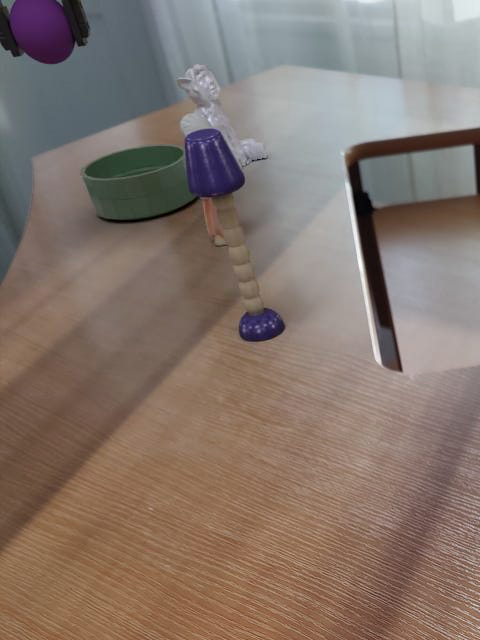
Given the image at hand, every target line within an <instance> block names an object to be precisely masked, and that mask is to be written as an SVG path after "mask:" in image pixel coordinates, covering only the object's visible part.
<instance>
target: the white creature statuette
mask: <svg viewBox="0 0 480 640" xmlns="http://www.w3.org/2000/svg"><path fill="white" fill-rule="evenodd" d="M176 84H177V86H178V87H179V88H180V89H182V90H185V92H186V94H187V96H188V97H189V99H191V101H192V103H194V105H196V108H195V109H194V111H193V113H196V114H199V115H201V116H202V117H204V118H206V119H207V120H208V121H209V123H210V124H211V126H212V127H213V128H214V129H217V130H219V131H220V132H221V133H222V135H223V136H224V138H225V140H226V142H227V144H228V146H229V147H230V149H231V151H232V153H233V155H234V157H235V158H236V160H237V162H238V164H239V166H240V168H241V170H242V171H243V167H246V165H247V166H248V165H249V164H250V163H252V162H253V161H252V160H254V161H258V160H257V159H262V158H266V157H267V158H268V156H267V150H266V149H267V148H266V145H265V143H264V142H263V141H258V140H256V139H254V138H252V137H249V138H243V139H240V140H239V138H237V132H236V131H235V130H234V128H233V127H232V122H231V121H230V118H229V117H228V114H227V111H226V110H225V109H224V108H223V104H222V102H221V91H222V88H221V86H220V85H219V82H218V81H217V79H216V78H215V75H214V73H213V72H212V71H211V70H209V69H208V68H207V65H206V64H199V63H196V64H194V65H193V67H190V68H188V69H187V70H186V71H185V73H184V77H177V79H176ZM262 160H263V159H262Z"/></svg>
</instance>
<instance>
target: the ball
mask: <svg viewBox="0 0 480 640" xmlns="http://www.w3.org/2000/svg"><path fill="white" fill-rule="evenodd" d="M9 14H10V27H11V31H12V34H13V36H14V39H15V41H16V42H17V44H18V45H19V47H20V48H21V49H22V50H23V51H24V54H26V55H27V56H28V57H30V58H31V59H32V60H34V61H36V62H38V63H41V64H44V65H58V64H60V63H64V62H65V61H66V60H67V59H69V57H70V56H71V55H72V54H73V51H74V50H75V46H76V41H75V38H74V35H73V32H72V29H71V27H70V24H69V21H68V18H67V16H66V13H65V10H64V7H63V4H62V3H61V2H59V0H15V1H14V2H13V4H12V6H11V8H10V11H9Z"/></svg>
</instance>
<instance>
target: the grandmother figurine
mask: <svg viewBox="0 0 480 640" xmlns="http://www.w3.org/2000/svg"><path fill="white" fill-rule="evenodd" d="M201 129H214V128H213V127H212V126H211V124H210V123H209V121H208V120H207V119H206V118H204V117H202V116H201V115H199V114H196V113H194V112H191V113H187V114H185V115H183V116H182V118H181V119H180V122H179V130H180V133H182V135H183V137H184V139H185V138H186V136H187V135H188V134H190V133H192V132H194V131H197V130H201ZM199 198H200V200H201V201H202V208H203V215H204V221H205V226H206V232H207V235H208V236H209V237H212V236H214V239H213V240H214V241H213V242H214V246H217V247H222V246H228V245H227V243H226V242H225V240H224V237H223V227H222V226H221V225H220V223H219V221H218V218H217V208H216V207H215V206H214V204H213V202H212V199H211V197H210V198H205V197H199Z"/></svg>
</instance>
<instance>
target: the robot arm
mask: <svg viewBox="0 0 480 640" xmlns="http://www.w3.org/2000/svg"><path fill="white" fill-rule="evenodd" d="M60 3H61V5H62V6H63V7H64V10H65V13H66V16H67V18H68V21H69V24H70V27H71V29H72V32H73V35H74V38H75V41H76V42H75V44H76V45H77V47H80V48H81V47H86V46H87V45H88V43H89V42H88V38H89V37H90V36H91V26H90V23H89V21H88V17H87V15H86V12H85V9H84V6H83V4H82V1H81V0H60ZM0 45H1V47H2V48H3V49H4V50H5V52H7V51H10V53H11V55H12V57H13V58H19V57H22V56H23V55H24V54H25V52H24V51H23V50H22V49H21V48H20V47H19V45H18V44H17V42H16V41H15V39H14V36H13V34H12V31H11V27H10V11H9V9H8V7H7V5H3V1H2V0H0Z"/></svg>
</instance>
